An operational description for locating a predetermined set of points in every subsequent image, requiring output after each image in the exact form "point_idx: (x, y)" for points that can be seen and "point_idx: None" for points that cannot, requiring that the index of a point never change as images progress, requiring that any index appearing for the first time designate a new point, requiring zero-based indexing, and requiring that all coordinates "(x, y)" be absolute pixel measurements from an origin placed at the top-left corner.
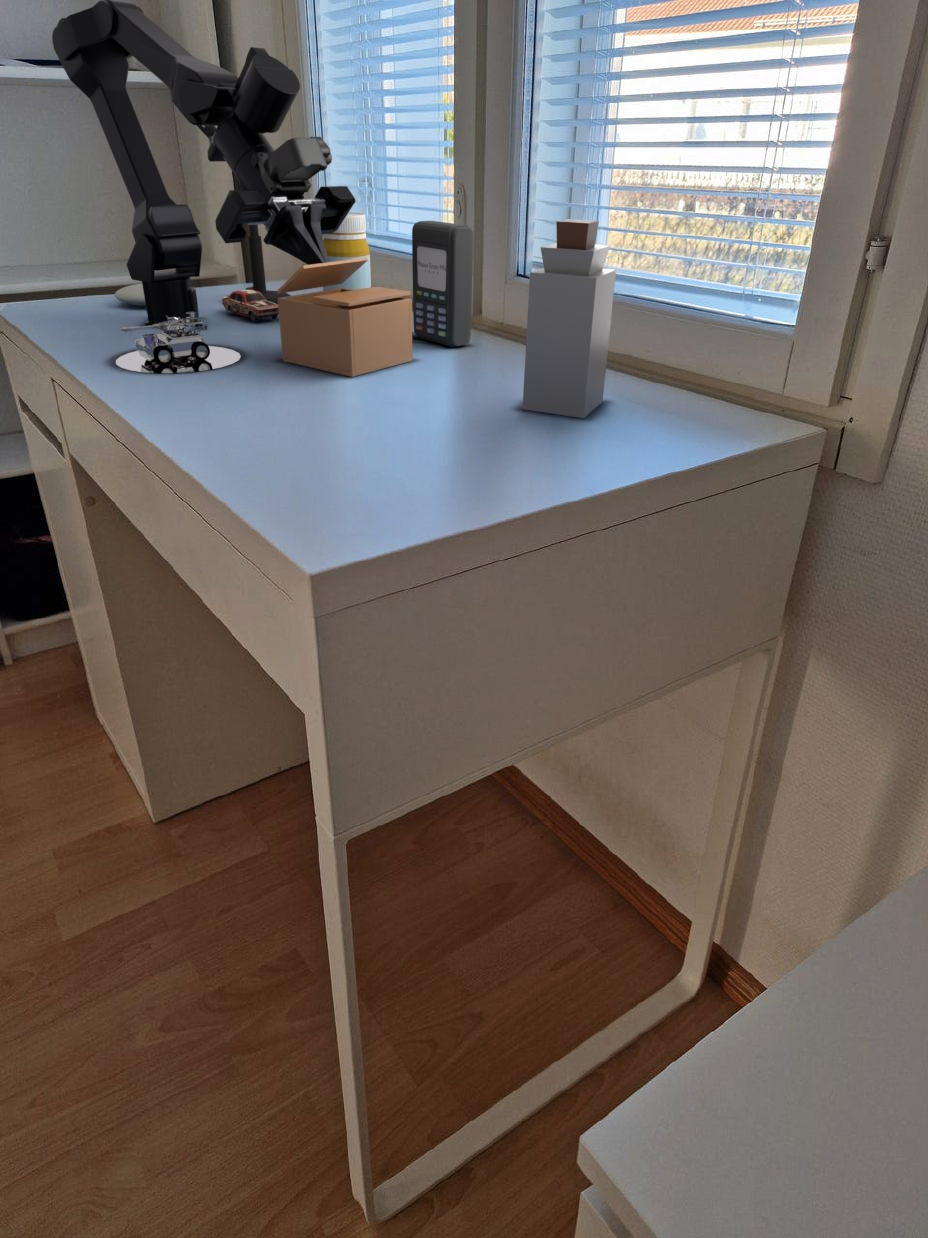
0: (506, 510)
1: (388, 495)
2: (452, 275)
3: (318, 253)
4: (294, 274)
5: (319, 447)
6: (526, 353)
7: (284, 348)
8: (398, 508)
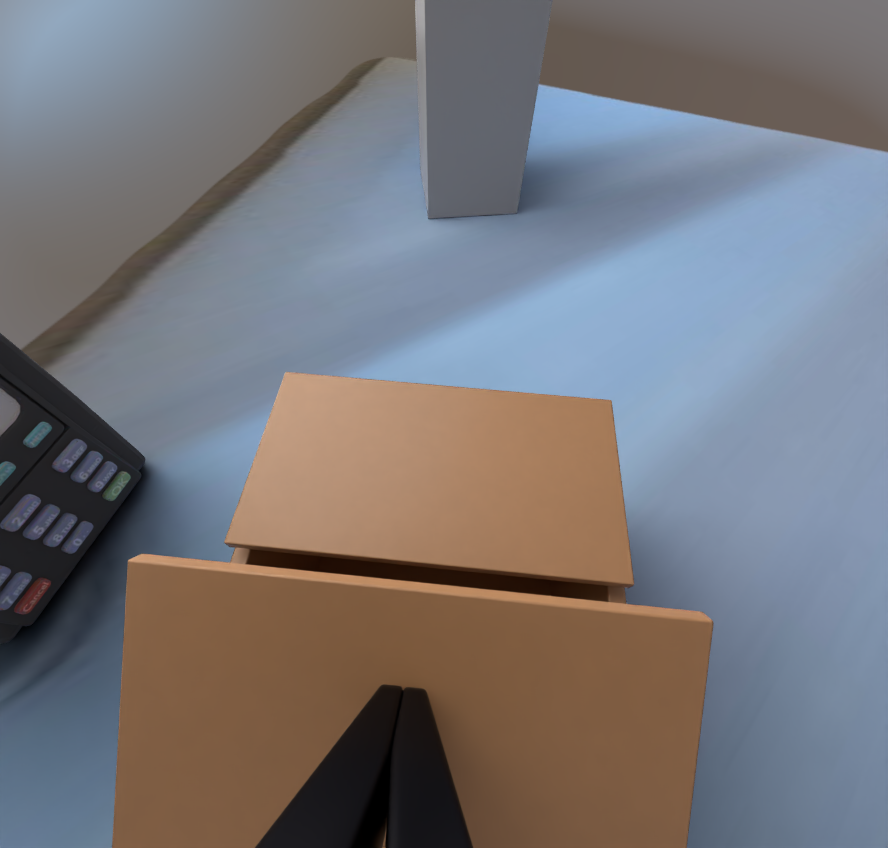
0: (779, 138)
1: (858, 198)
2: (2, 341)
3: (421, 762)
4: (701, 714)
5: (860, 306)
6: (530, 129)
7: None
8: (866, 183)
